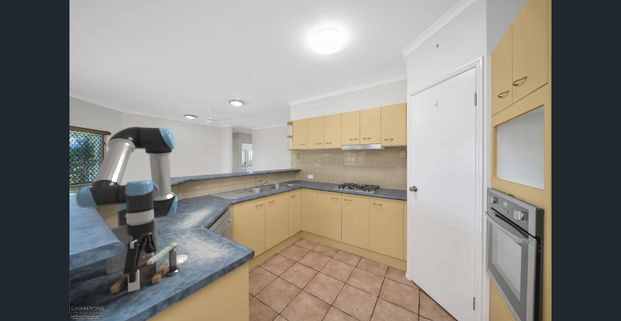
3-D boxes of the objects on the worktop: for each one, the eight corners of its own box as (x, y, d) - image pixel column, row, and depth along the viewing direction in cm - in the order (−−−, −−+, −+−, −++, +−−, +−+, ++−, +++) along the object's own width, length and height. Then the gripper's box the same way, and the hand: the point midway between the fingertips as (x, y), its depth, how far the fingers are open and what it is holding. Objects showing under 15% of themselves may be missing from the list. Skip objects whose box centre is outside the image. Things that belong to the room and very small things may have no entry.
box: (126, 283, 66) (126, 263, 66) (146, 273, 71) (145, 255, 71) (138, 286, 64) (137, 266, 64) (156, 276, 70) (156, 257, 69)
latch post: (168, 270, 73) (167, 246, 72) (181, 268, 74) (180, 244, 74) (164, 277, 68) (163, 251, 68) (178, 274, 70) (177, 249, 70)
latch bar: (144, 265, 59) (144, 261, 59) (170, 245, 73) (170, 242, 73) (154, 264, 60) (154, 260, 60) (178, 244, 73) (178, 242, 73)
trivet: (165, 259, 81) (165, 257, 81) (189, 254, 85) (189, 252, 85) (158, 270, 73) (158, 268, 73) (184, 264, 77) (184, 262, 77)
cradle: (126, 276, 70) (126, 271, 70) (168, 267, 75) (167, 262, 75) (110, 294, 60) (110, 288, 60) (159, 282, 66) (158, 277, 66)
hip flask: (106, 274, 71) (105, 224, 71) (106, 270, 74) (105, 222, 73) (158, 257, 83) (157, 214, 82) (157, 254, 85) (156, 213, 85)
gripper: (142, 214, 77) (144, 264, 77) (106, 236, 55) (108, 306, 55) (164, 212, 80) (165, 260, 80) (138, 231, 58) (140, 298, 58)
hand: (142, 279), depth 68 cm, fingers open, 12 cm apart
